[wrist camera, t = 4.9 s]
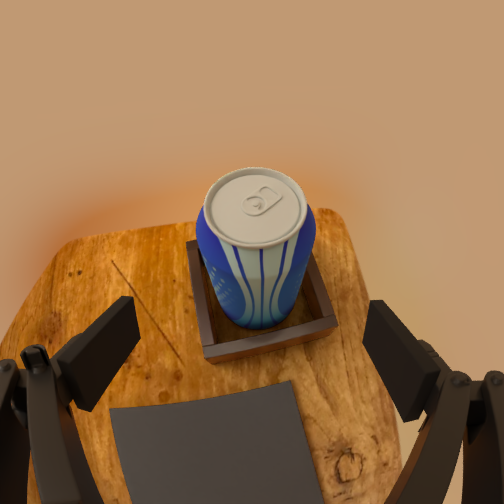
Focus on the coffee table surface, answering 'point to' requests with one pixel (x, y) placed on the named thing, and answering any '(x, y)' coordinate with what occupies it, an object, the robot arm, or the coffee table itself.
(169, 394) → the coffee table surface
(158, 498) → the rubber mat
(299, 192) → the beer can
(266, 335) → the can holder
